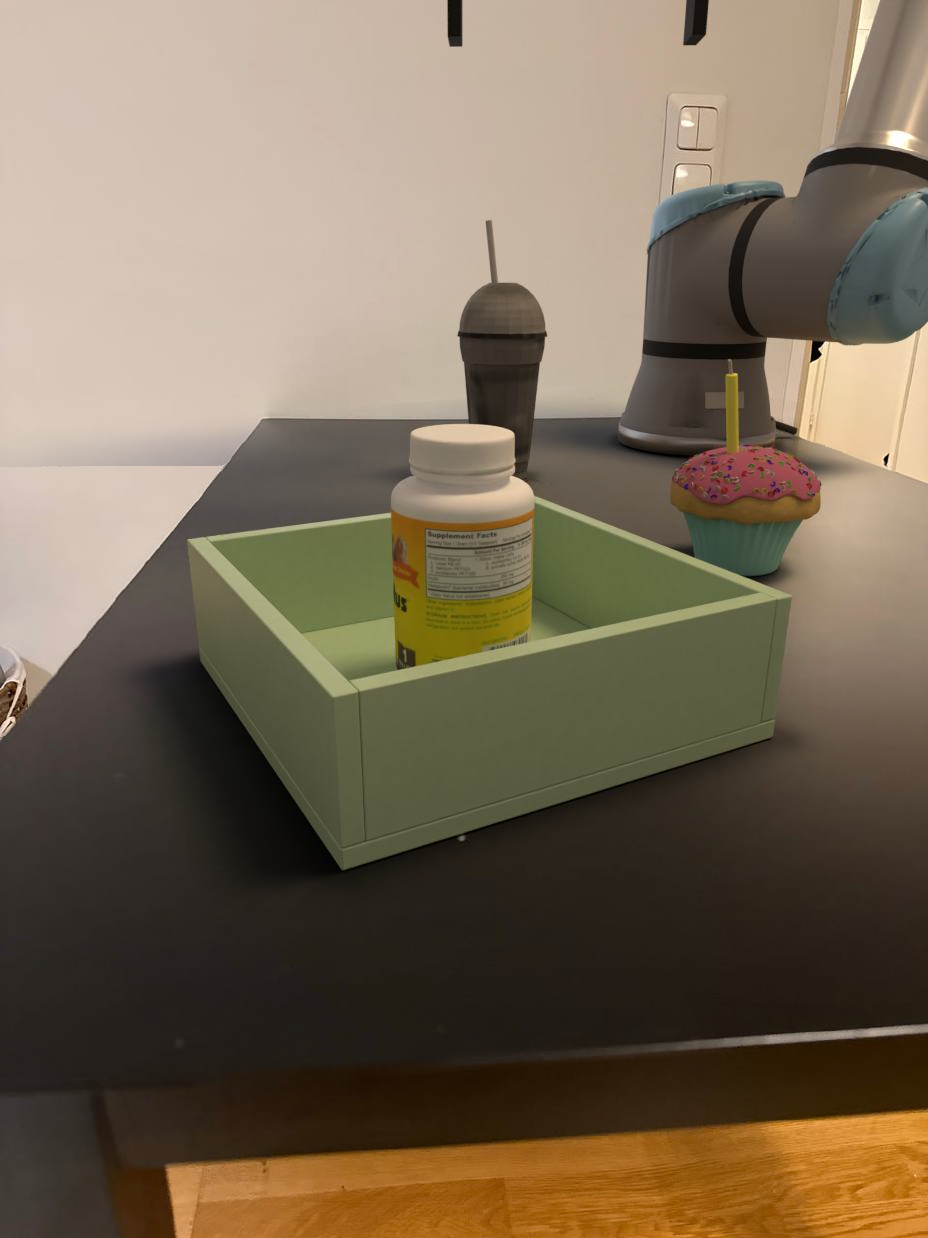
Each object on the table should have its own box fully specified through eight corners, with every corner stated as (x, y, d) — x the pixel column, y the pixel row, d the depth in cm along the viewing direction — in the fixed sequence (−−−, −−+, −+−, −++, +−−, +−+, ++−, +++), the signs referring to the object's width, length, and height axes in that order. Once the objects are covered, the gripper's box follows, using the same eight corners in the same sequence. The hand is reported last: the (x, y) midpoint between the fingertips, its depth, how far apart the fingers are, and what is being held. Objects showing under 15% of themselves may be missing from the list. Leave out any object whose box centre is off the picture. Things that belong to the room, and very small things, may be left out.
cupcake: (730, 595, 50) (755, 368, 46) (634, 554, 57) (648, 354, 53) (842, 573, 54) (875, 361, 50) (739, 537, 61) (760, 348, 57)
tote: (528, 599, 50) (531, 493, 48) (773, 737, 35) (793, 595, 33) (200, 662, 42) (186, 539, 40) (341, 872, 27) (332, 696, 25)
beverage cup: (537, 487, 74) (545, 217, 67) (449, 483, 76) (447, 218, 69) (548, 469, 81) (556, 221, 74) (466, 465, 82) (466, 222, 75)
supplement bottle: (408, 649, 41) (404, 417, 38) (533, 656, 41) (541, 421, 37) (382, 704, 36) (373, 442, 32) (524, 713, 35) (532, 447, 32)
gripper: (325, -520, 42) (346, 26, 49) (882, -532, 41) (816, 23, 49) (349, -408, 49) (364, 55, 56) (825, -417, 48) (775, 53, 56)
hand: (574, 41), depth 53 cm, fingers open, 13 cm apart
